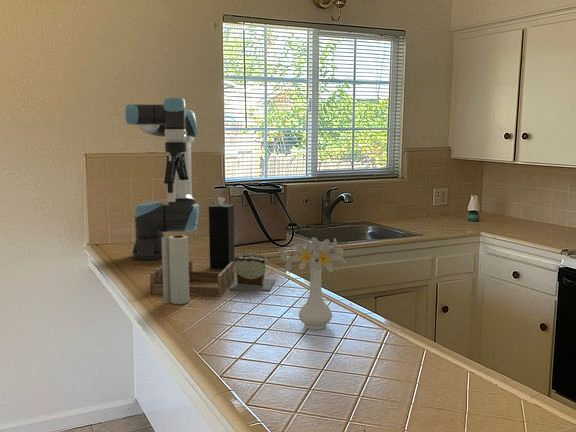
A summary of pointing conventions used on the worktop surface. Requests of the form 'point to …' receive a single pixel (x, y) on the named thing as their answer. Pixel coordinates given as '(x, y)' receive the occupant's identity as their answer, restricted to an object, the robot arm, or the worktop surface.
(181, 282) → the paper towel roll
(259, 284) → the food container
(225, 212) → the black bar
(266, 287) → the mat
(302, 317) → the flower vase
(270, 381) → the worktop surface
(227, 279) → the rack
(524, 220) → the worktop surface
